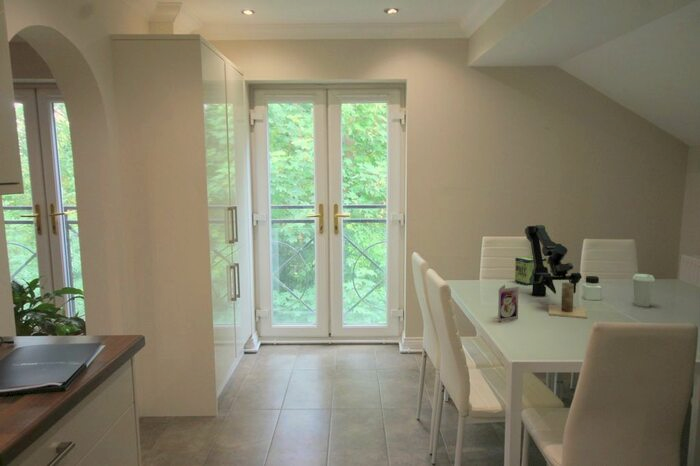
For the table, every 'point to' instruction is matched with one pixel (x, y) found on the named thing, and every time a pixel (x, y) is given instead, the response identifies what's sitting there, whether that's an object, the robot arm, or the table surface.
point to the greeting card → (508, 303)
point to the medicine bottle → (592, 288)
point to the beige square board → (576, 312)
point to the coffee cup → (643, 289)
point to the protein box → (525, 269)
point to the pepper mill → (567, 297)
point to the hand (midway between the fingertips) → (565, 293)
